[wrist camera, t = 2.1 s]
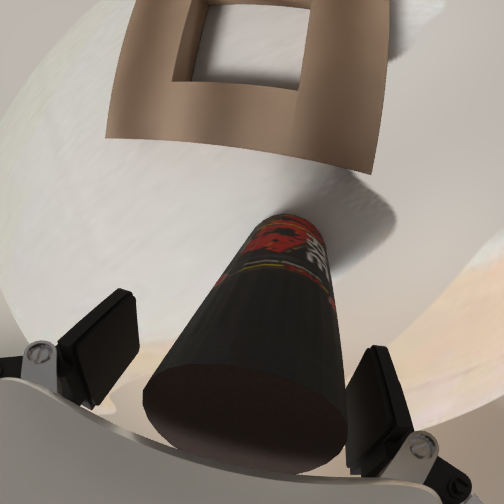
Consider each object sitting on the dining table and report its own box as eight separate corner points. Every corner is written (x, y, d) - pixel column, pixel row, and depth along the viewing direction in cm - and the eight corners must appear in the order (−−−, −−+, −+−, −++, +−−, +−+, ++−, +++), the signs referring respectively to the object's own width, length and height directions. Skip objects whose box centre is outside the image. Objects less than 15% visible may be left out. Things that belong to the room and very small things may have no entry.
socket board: (380, -10, 11) (388, -28, 9) (361, 172, 17) (371, 175, 14) (165, -20, 14) (150, -35, 11) (128, 138, 19) (105, 138, 17)
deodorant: (233, 268, 21) (132, 428, 8) (267, 199, 19) (165, 317, 5) (301, 302, 21) (279, 487, 7) (341, 238, 19) (395, 415, 5)
